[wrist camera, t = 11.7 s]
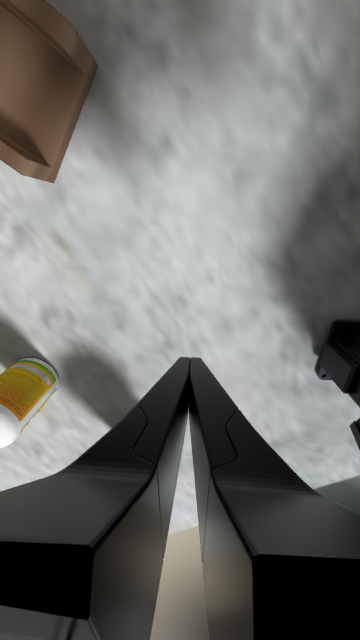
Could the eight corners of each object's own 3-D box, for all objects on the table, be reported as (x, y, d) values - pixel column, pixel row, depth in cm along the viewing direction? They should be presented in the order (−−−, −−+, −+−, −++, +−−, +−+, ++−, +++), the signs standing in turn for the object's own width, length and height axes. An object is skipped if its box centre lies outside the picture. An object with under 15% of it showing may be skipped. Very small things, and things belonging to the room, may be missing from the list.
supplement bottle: (12, 351, 25) (-92, 425, 16) (59, 361, 25) (-17, 440, 16) (17, 388, 27) (-71, 470, 18) (61, 397, 27) (-5, 483, 18)
